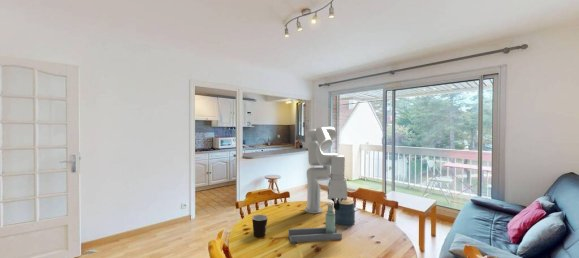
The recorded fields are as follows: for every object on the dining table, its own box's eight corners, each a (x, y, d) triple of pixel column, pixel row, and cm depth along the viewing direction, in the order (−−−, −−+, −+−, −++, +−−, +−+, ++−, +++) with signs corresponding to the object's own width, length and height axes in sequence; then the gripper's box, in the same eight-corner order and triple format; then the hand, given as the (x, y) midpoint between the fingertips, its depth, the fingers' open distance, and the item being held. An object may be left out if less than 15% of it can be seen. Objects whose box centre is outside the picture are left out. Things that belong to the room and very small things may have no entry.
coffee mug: (260, 240, 128) (261, 221, 128) (248, 236, 132) (248, 218, 132) (273, 232, 138) (273, 215, 137) (261, 228, 142) (262, 212, 142)
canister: (359, 224, 151) (360, 197, 151) (344, 229, 144) (344, 200, 144) (344, 217, 162) (345, 192, 162) (330, 221, 155) (330, 194, 155)
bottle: (324, 233, 135) (324, 202, 134) (333, 233, 136) (332, 201, 135) (327, 238, 130) (327, 205, 129) (336, 237, 130) (336, 205, 130)
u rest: (288, 236, 133) (288, 229, 133) (335, 233, 138) (336, 226, 138) (291, 244, 124) (291, 236, 124) (341, 240, 129) (341, 233, 129)
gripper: (326, 178, 128) (326, 212, 128) (352, 178, 130) (352, 211, 130) (322, 175, 135) (321, 207, 135) (347, 175, 138) (346, 206, 138)
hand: (336, 209), depth 133 cm, fingers closed
